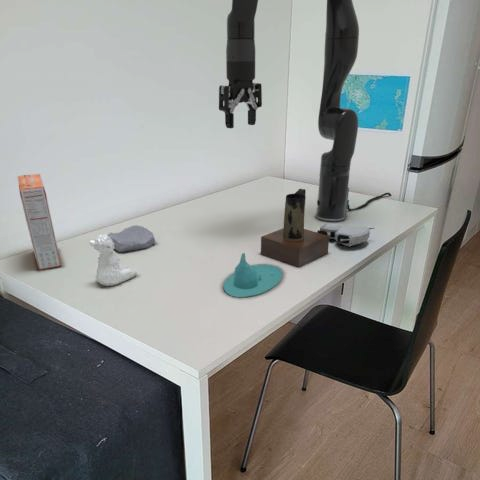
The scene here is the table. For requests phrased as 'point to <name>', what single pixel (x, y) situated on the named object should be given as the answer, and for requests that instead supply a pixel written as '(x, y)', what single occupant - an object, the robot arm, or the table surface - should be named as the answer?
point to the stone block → (132, 238)
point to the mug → (294, 216)
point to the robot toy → (346, 233)
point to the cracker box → (39, 221)
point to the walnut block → (294, 247)
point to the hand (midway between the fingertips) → (240, 126)
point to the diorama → (251, 279)
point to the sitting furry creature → (109, 263)
